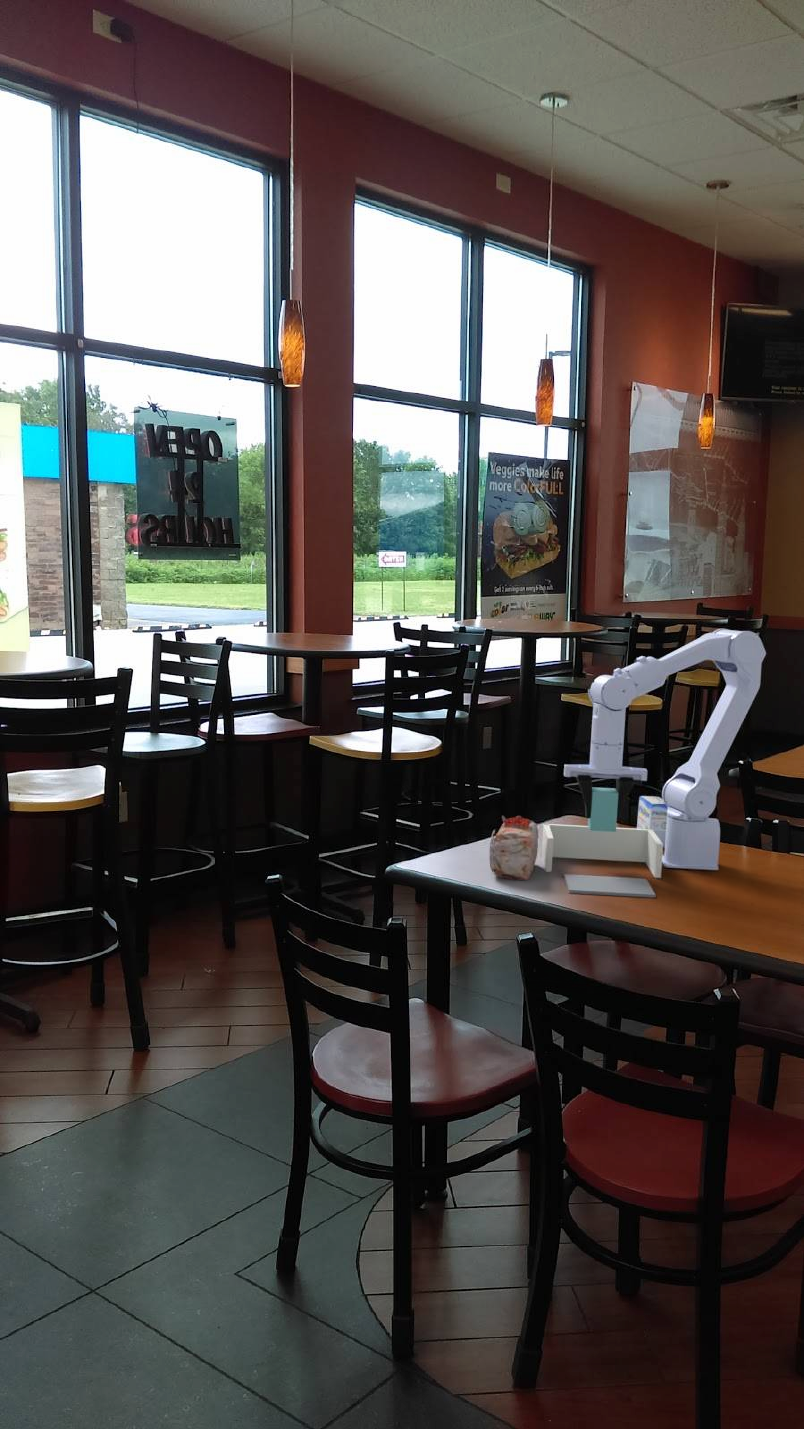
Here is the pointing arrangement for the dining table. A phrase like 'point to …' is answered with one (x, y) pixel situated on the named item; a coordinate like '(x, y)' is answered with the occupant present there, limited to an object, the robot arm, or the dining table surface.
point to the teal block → (603, 809)
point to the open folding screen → (602, 845)
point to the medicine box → (653, 816)
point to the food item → (514, 848)
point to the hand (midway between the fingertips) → (602, 817)
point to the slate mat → (609, 885)
